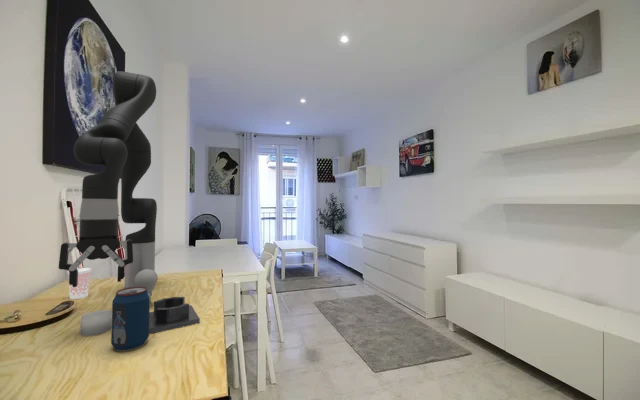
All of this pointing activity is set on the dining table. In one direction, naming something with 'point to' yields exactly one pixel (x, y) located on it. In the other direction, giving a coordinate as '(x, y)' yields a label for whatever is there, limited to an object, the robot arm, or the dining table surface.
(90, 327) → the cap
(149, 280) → the lightbulb
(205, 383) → the dining table surface
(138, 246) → the robot arm
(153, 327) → the ball socket plate
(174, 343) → the dining table surface
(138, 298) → the soda can
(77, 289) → the beverage cup
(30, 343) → the dining table surface
